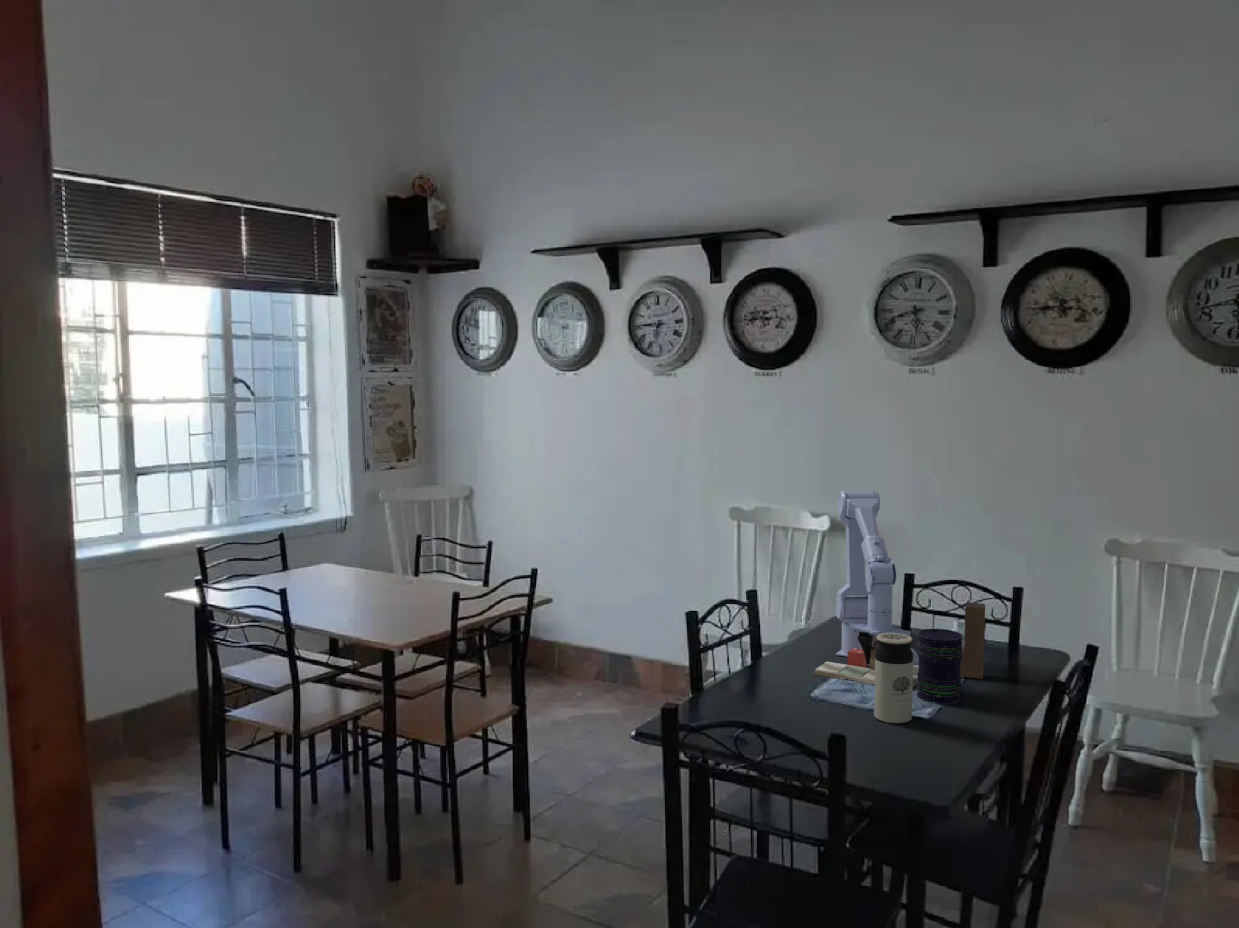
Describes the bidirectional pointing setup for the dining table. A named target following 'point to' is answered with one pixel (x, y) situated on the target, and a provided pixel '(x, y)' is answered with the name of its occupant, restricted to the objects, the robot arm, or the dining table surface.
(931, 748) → the dining table surface
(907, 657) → the travel mug
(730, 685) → the dining table surface
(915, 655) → the dome
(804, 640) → the dining table surface
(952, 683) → the storage jar
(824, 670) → the track board
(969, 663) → the wooden block
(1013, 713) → the dining table surface
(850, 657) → the red die
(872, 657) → the pawn
